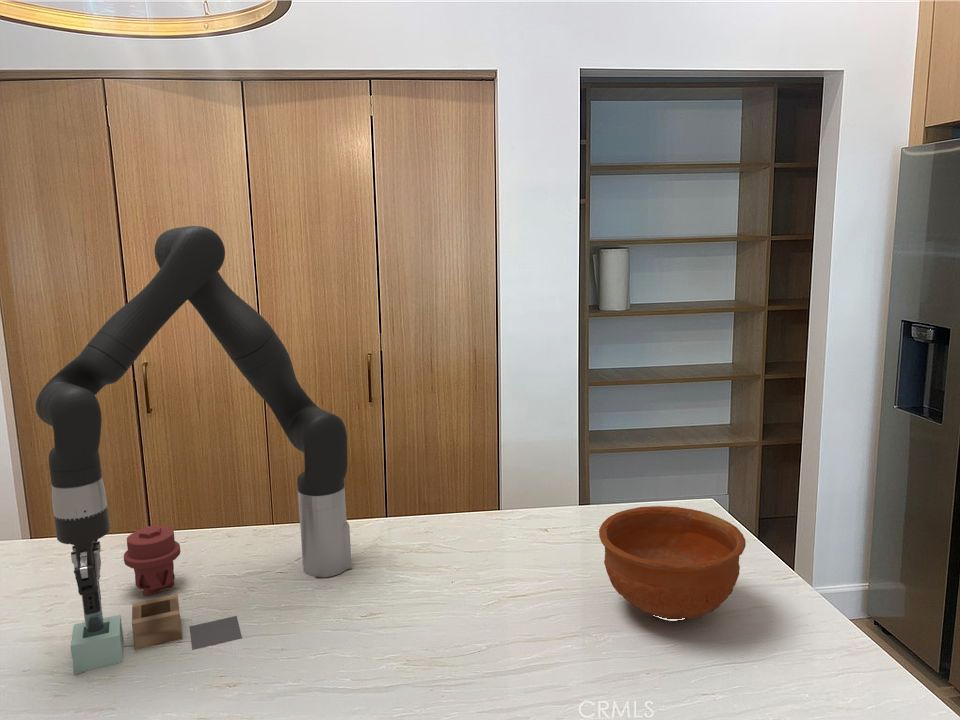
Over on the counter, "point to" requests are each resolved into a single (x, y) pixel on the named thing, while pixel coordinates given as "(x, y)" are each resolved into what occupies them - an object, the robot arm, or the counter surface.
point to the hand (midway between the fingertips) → (93, 607)
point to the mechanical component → (152, 558)
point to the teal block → (97, 645)
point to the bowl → (671, 559)
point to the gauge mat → (215, 632)
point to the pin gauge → (94, 618)
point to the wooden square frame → (156, 621)
